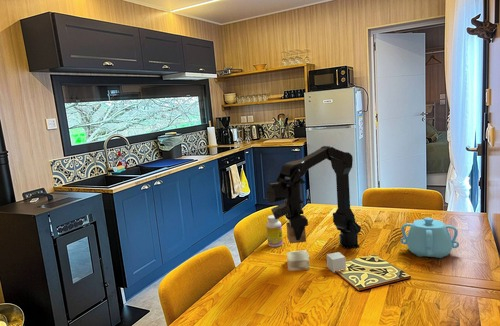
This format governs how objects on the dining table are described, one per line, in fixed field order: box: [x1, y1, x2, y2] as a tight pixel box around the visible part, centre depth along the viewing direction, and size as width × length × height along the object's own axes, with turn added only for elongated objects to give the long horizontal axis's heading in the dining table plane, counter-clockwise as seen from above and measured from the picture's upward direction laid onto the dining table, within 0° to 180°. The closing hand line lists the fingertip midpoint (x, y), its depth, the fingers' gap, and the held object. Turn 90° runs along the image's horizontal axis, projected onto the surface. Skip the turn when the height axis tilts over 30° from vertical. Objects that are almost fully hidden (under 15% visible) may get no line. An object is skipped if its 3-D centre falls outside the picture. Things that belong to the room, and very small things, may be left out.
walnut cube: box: [285, 222, 307, 244], centre depth 138 cm, size 6×6×6 cm
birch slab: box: [286, 250, 311, 272], centre depth 140 cm, size 8×8×4 cm
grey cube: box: [326, 251, 347, 273], centre depth 135 cm, size 5×5×5 cm
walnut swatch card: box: [292, 249, 310, 259], centre depth 149 cm, size 7×7×1 cm
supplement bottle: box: [265, 214, 284, 248], centre depth 162 cm, size 7×7×13 cm
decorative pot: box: [400, 217, 460, 259], centre depth 139 cm, size 16×16×14 cm
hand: (296, 237), depth 139 cm, fingers closed on walnut cube, 6 cm apart
